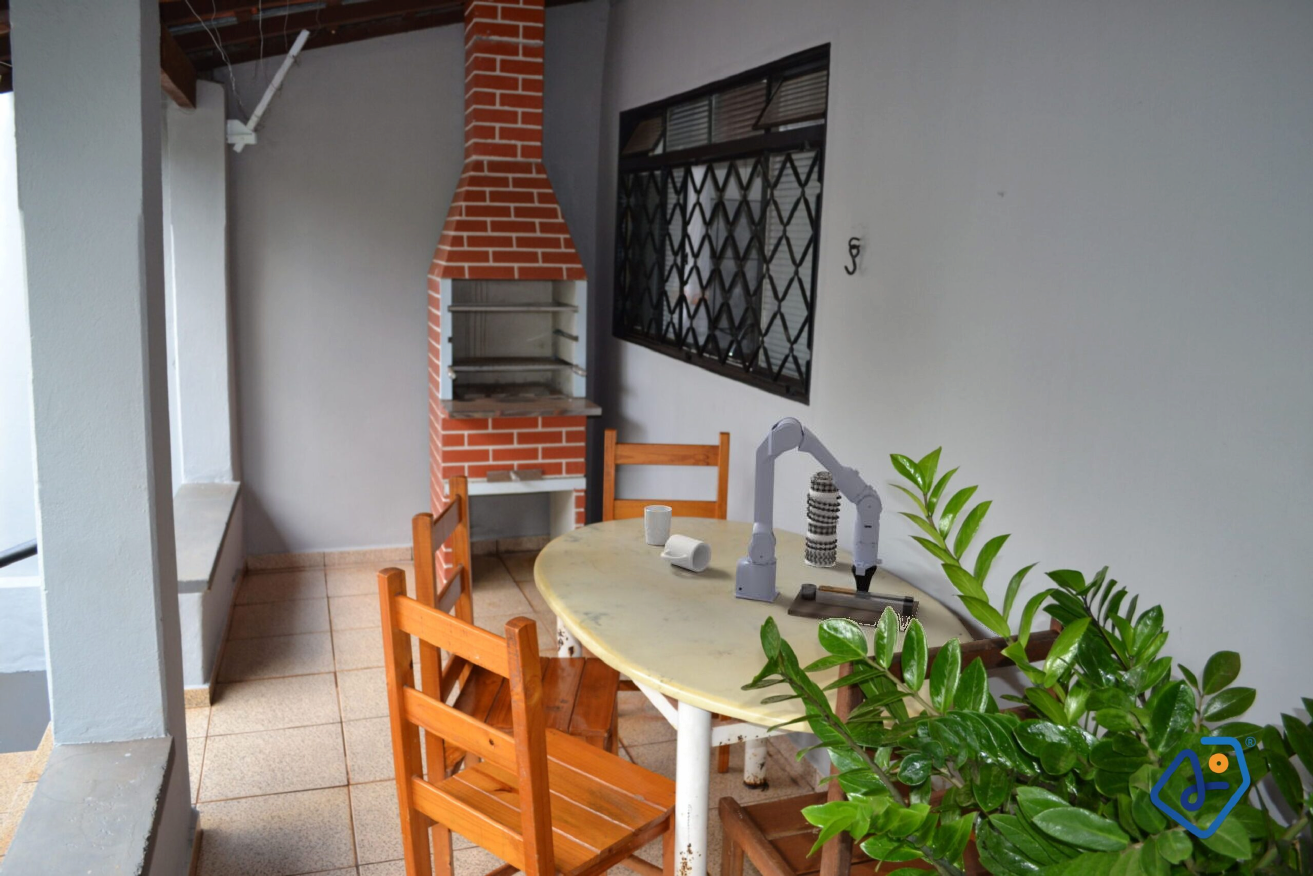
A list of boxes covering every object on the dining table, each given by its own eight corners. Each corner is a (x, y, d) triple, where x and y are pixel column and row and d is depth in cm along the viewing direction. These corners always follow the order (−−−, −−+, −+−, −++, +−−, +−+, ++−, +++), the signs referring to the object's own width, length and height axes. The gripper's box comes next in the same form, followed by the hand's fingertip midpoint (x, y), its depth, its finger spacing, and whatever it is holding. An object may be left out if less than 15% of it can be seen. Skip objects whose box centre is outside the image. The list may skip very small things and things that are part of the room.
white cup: (676, 541, 282) (677, 507, 280) (661, 547, 275) (662, 513, 273) (653, 536, 286) (653, 503, 284) (638, 543, 279) (638, 509, 277)
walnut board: (787, 614, 226) (787, 609, 226) (802, 590, 243) (803, 585, 243) (911, 632, 217) (912, 627, 217) (918, 606, 234) (919, 601, 234)
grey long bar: (815, 602, 231) (816, 592, 230) (817, 600, 232) (817, 590, 232) (911, 616, 223) (912, 605, 223) (912, 613, 225) (912, 603, 225)
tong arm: (799, 599, 232) (800, 587, 232) (802, 593, 236) (803, 582, 235) (912, 613, 224) (913, 601, 224) (913, 607, 228) (914, 596, 228)
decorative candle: (820, 556, 271) (825, 468, 267) (844, 565, 264) (850, 474, 259) (796, 561, 266) (800, 471, 262) (819, 570, 259) (825, 478, 254)
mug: (684, 559, 265) (684, 531, 263) (711, 568, 258) (712, 539, 257) (652, 568, 257) (653, 539, 255) (679, 578, 250) (680, 548, 248)
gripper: (879, 551, 224) (875, 607, 226) (887, 535, 237) (883, 588, 240) (848, 547, 226) (844, 603, 229) (857, 531, 240) (854, 584, 242)
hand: (862, 595), depth 234 cm, fingers closed
